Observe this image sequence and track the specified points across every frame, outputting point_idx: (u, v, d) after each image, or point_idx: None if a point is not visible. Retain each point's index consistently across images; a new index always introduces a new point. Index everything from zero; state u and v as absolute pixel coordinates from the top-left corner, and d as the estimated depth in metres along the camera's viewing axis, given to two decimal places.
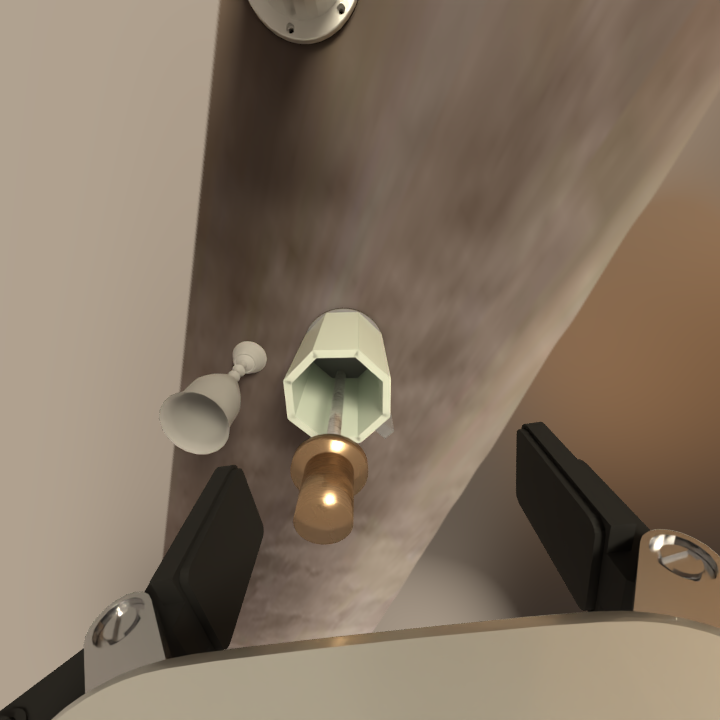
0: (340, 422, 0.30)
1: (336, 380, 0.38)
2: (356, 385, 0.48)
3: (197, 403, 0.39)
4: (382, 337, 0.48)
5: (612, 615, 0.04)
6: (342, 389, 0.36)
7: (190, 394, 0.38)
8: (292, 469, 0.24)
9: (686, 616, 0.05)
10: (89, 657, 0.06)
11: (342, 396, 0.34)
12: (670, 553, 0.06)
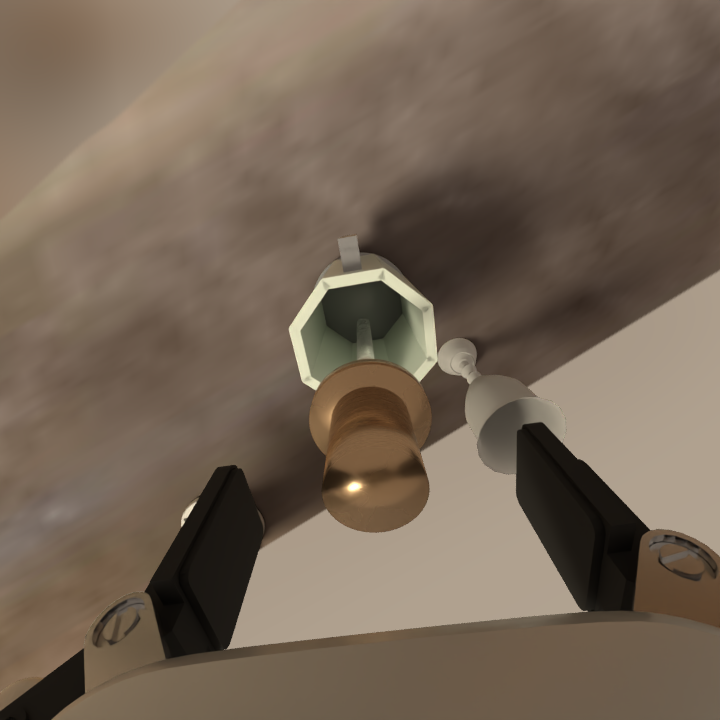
0: None
1: None
2: None
3: (517, 410, 0.32)
4: None
5: (612, 615, 0.04)
6: None
7: (511, 425, 0.32)
8: None
9: (686, 616, 0.05)
10: (89, 657, 0.06)
11: None
12: (670, 553, 0.06)
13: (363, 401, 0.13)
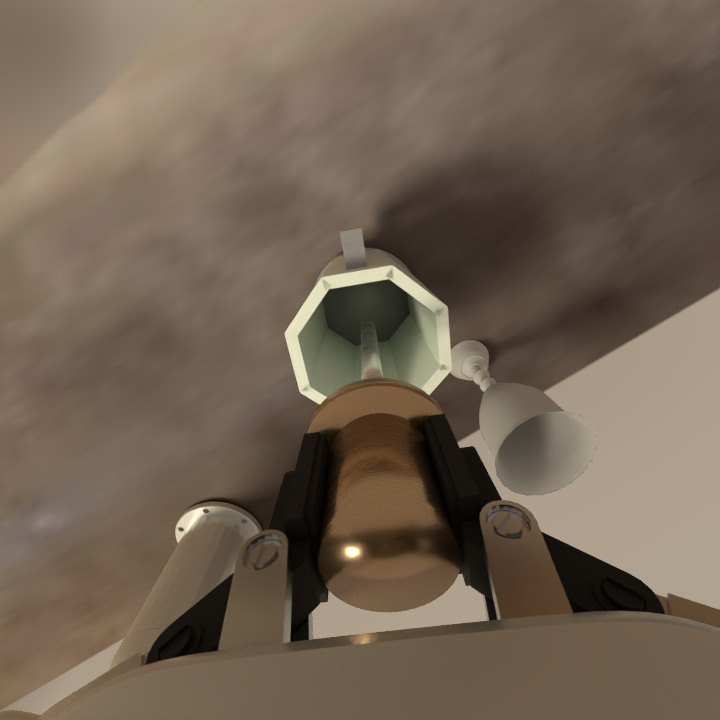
0: None
1: None
2: None
3: (537, 421, 0.29)
4: (315, 286, 0.36)
5: (612, 615, 0.04)
6: None
7: (530, 438, 0.29)
8: None
9: (490, 564, 0.07)
10: (248, 577, 0.07)
11: (361, 352, 0.23)
12: (500, 521, 0.08)
13: (371, 435, 0.11)
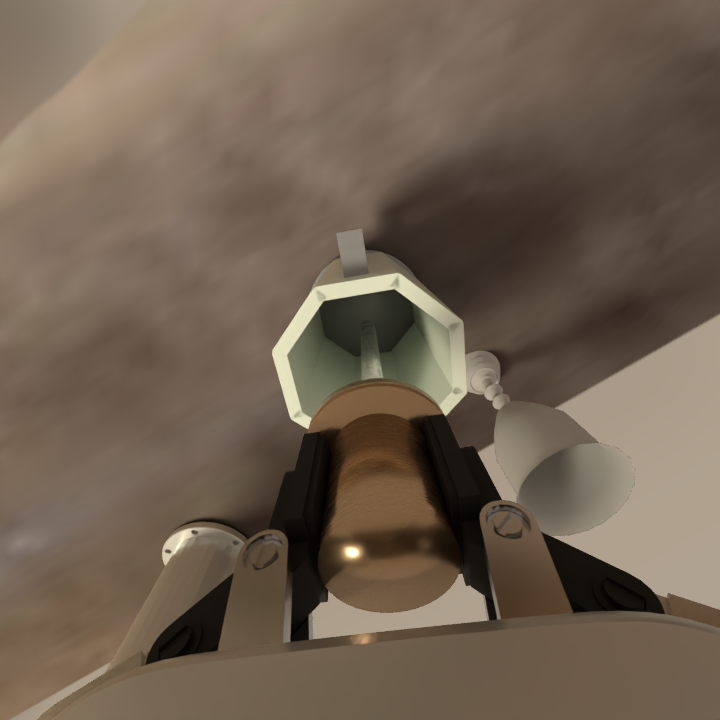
0: None
1: None
2: None
3: None
4: (310, 292, 0.33)
5: (612, 615, 0.04)
6: None
7: (551, 465, 0.26)
8: None
9: (489, 564, 0.07)
10: (248, 577, 0.07)
11: (361, 352, 0.23)
12: (500, 521, 0.08)
13: (371, 435, 0.11)
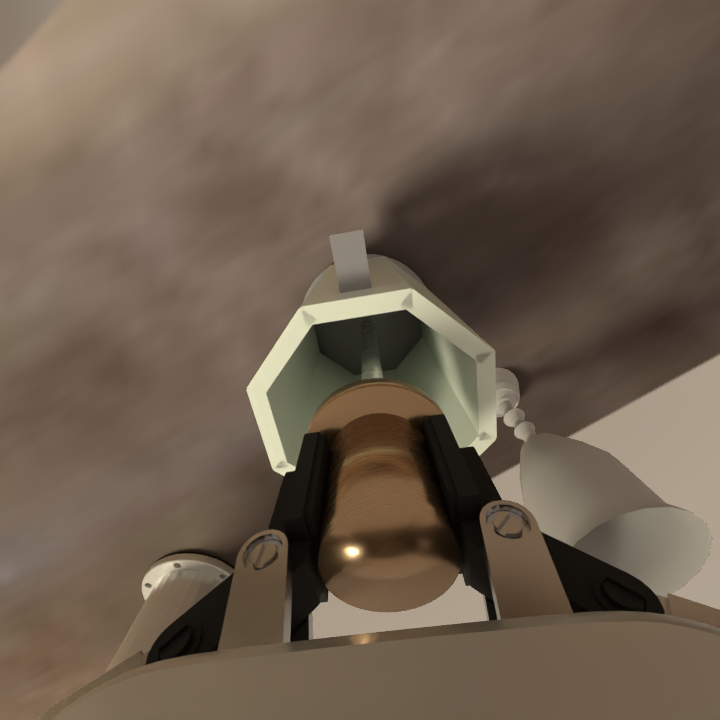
0: None
1: None
2: None
3: None
4: (303, 302, 0.28)
5: (612, 615, 0.04)
6: None
7: None
8: None
9: (489, 564, 0.07)
10: (248, 577, 0.07)
11: (361, 352, 0.23)
12: (500, 521, 0.08)
13: (371, 435, 0.11)
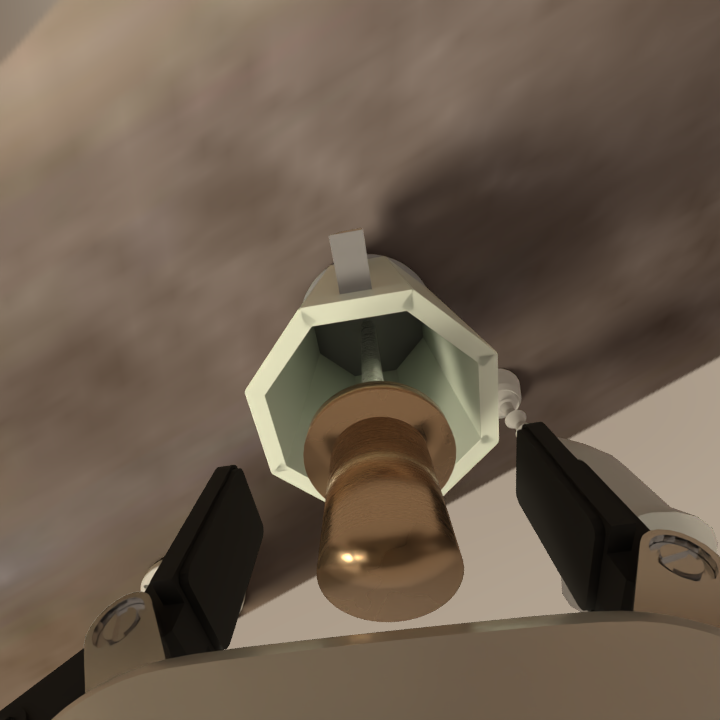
0: None
1: None
2: None
3: None
4: None
5: (612, 615, 0.04)
6: None
7: None
8: None
9: (686, 616, 0.05)
10: (89, 657, 0.06)
11: (361, 353, 0.22)
12: (670, 553, 0.06)
13: (372, 439, 0.10)
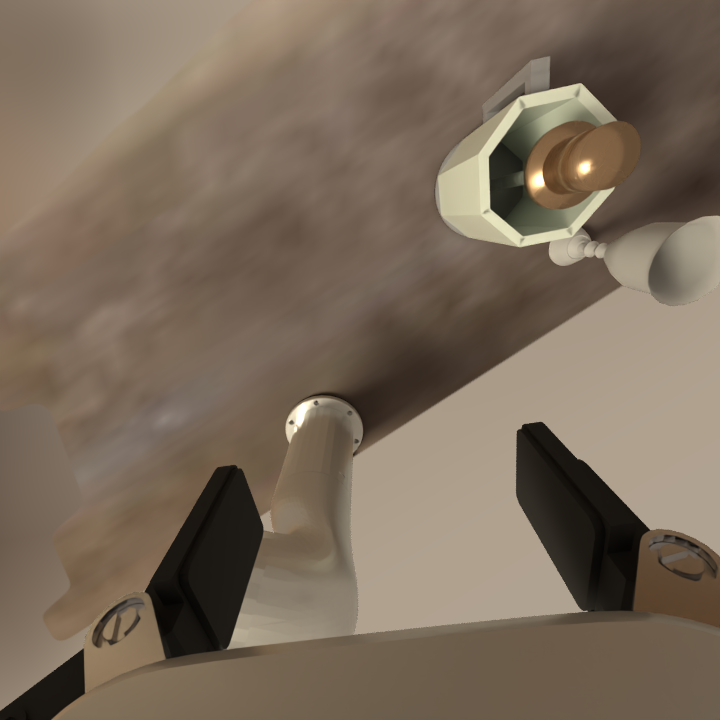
0: (521, 175, 0.30)
1: (493, 190, 0.38)
2: (509, 136, 0.36)
3: (662, 263, 0.33)
4: (439, 170, 0.40)
5: (612, 615, 0.04)
6: (495, 184, 0.36)
7: (656, 278, 0.33)
8: (588, 194, 0.25)
9: (686, 616, 0.05)
10: (89, 657, 0.06)
11: (501, 181, 0.34)
12: (670, 553, 0.06)
13: None
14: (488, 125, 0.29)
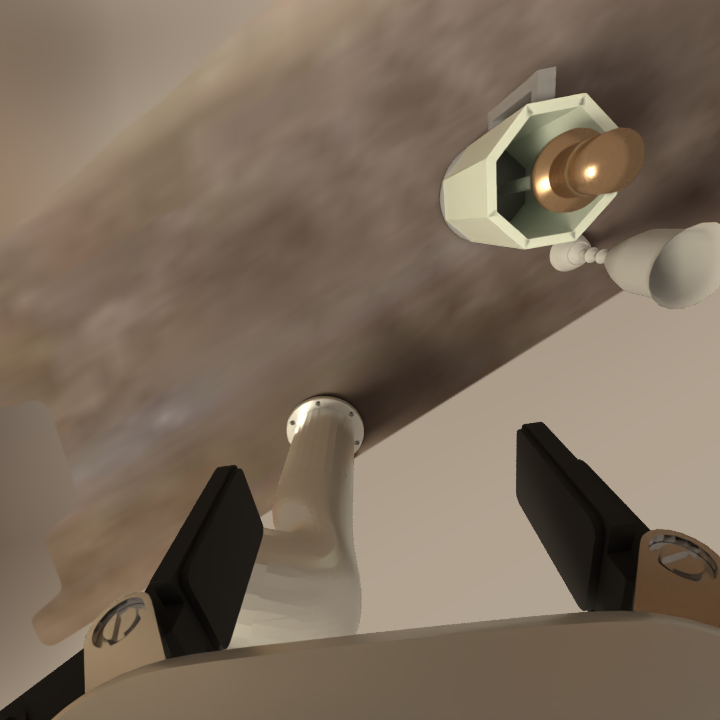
0: (527, 181, 0.31)
1: None
2: (513, 143, 0.37)
3: (661, 269, 0.34)
4: (445, 175, 0.41)
5: (612, 615, 0.04)
6: (500, 189, 0.37)
7: (655, 283, 0.34)
8: (592, 198, 0.26)
9: (686, 616, 0.05)
10: (89, 657, 0.06)
11: (505, 187, 0.35)
12: (670, 553, 0.06)
13: None
14: (495, 131, 0.30)
